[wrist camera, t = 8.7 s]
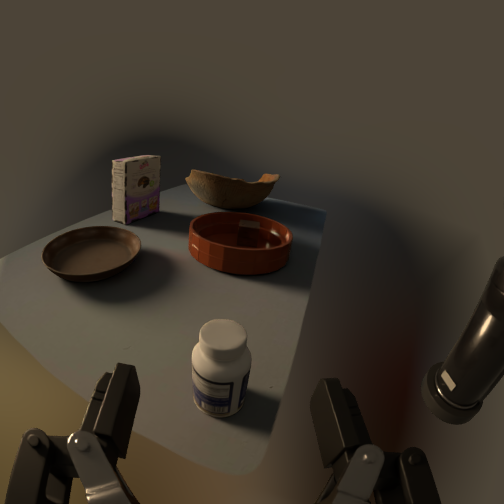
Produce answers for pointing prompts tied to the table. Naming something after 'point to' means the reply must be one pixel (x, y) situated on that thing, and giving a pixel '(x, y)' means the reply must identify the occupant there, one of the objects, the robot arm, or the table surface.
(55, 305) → the table surface
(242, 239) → the block
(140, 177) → the candy box
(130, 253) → the plant saucer
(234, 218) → the bowl
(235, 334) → the pill bottle
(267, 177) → the ceramic bowl
